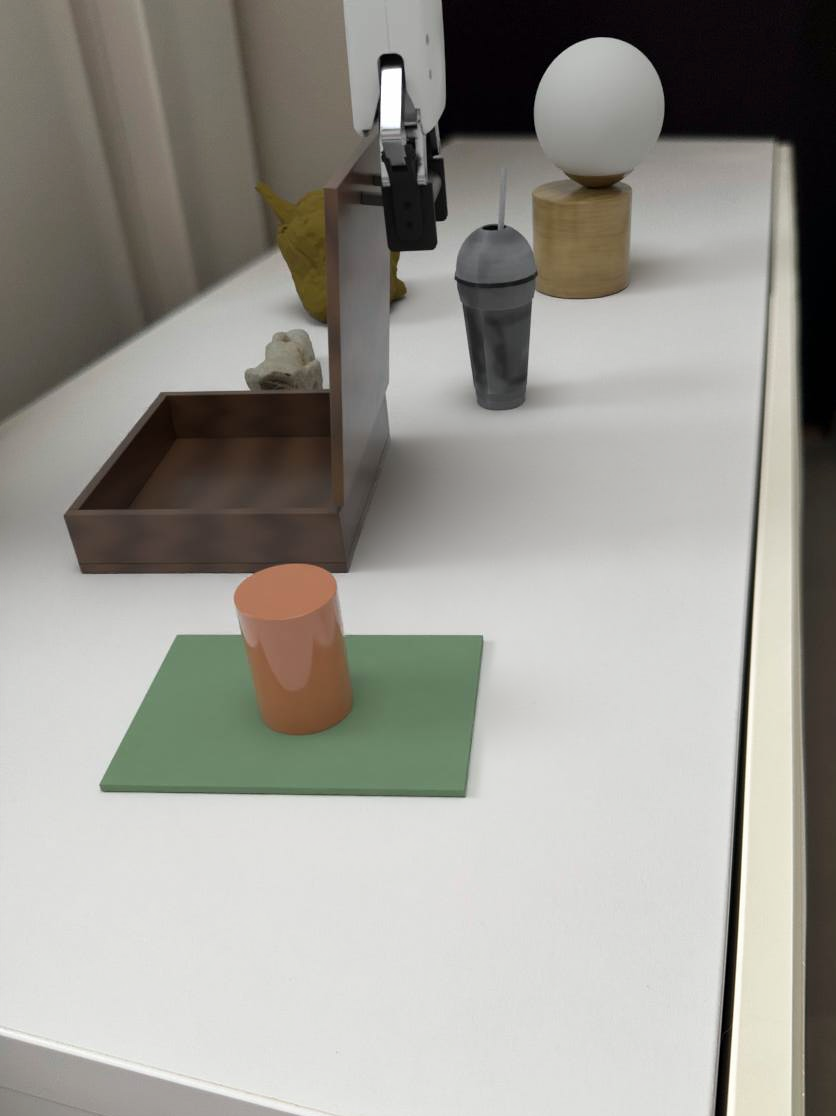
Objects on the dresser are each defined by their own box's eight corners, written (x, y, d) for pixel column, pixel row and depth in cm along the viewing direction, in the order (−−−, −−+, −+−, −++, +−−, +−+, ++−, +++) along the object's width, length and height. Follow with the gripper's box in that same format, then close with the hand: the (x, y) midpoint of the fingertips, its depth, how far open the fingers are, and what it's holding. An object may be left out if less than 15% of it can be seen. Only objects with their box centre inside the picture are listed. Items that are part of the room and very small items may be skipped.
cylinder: (248, 734, 60) (221, 619, 55) (271, 674, 64) (247, 563, 60) (345, 735, 59) (326, 620, 55) (361, 675, 64) (345, 562, 59)
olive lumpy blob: (265, 313, 120) (244, 184, 112) (350, 279, 129) (336, 156, 121) (353, 336, 114) (338, 200, 105) (437, 298, 122) (429, 169, 114)
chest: (81, 573, 76) (62, 515, 73) (172, 442, 94) (160, 391, 91) (347, 572, 74) (339, 512, 72) (390, 439, 92) (385, 387, 89)
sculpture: (256, 370, 109) (244, 419, 96) (250, 324, 106) (238, 367, 93) (326, 368, 109) (323, 415, 97) (322, 321, 107) (319, 364, 94)
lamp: (595, 253, 133) (599, 26, 119) (681, 276, 124) (696, 33, 110) (505, 282, 126) (497, 43, 111) (589, 308, 117) (592, 52, 102)
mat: (100, 791, 57) (98, 784, 57) (178, 640, 69) (176, 634, 68) (465, 796, 56) (464, 790, 55) (483, 641, 67) (483, 634, 67)
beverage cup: (448, 395, 99) (432, 168, 87) (516, 378, 102) (509, 155, 90) (484, 422, 94) (472, 184, 82) (554, 404, 96) (552, 170, 85)
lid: (323, 186, 59) (418, 194, 59) (380, 115, 77) (453, 121, 76) (332, 506, 71) (411, 513, 71) (379, 382, 89) (443, 387, 89)
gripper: (350, -89, 68) (383, 204, 78) (292, -78, 54) (342, 277, 64) (466, -98, 67) (483, 199, 78) (438, -89, 53) (464, 272, 64)
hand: (419, 232), depth 71 cm, fingers closed on lid, 6 cm apart
